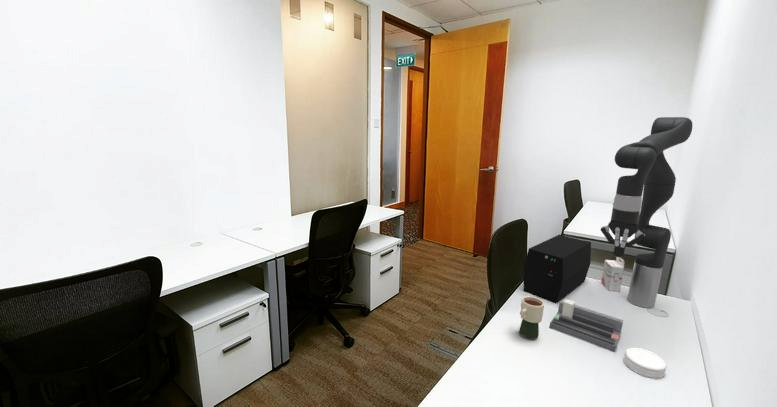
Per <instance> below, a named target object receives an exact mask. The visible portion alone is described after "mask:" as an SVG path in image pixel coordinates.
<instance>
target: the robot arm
mask: <svg viewBox="0 0 777 407" xmlns="http://www.w3.org/2000/svg"><path fill="white" fill-rule="evenodd" d="M692 130H693V121H692V119H691V118H689V117H684V116H683V117H682V116H675V117H674V116H672V117H671V116H666V117H665V116H663V117H662V116H661V117H660V116H659V117H657V118H655V119H654V120H653V122H652V125H651V130H650V134H649V135H647V136H645V137H643V138H642V139H640V140H639V141H637V142H632V143H629V144H625V145H624V146H621V147H620V148H619V149H618V150H617V151H616V153H615V155H614V162H615V164H616V165H617V166H618V167H619V168H622V169H630V170H631V169H632V170H637V171H636V172H635V173H634V174H632V175H622V176H619V178H618V180H617V186H616V192H615V195H614V198H613V203H612V211H611V217H610V221H609V222H608V224H607V225H604V226H601V227H600V231H601V233H602V234H603V236H604V237H605V239H606V240H607V242H608V243H609V244H612V245H613V246H614V249H613V255H615V258H616V257H620V258H622V257H623V256H624V255H625V252H626V251H625V250H626V248H632V247H633V246H635V245H638V246H640V247H642V248H643V247H644V248H647V249H651V250H654V252H650V253H638V254H636V255H635V258H634V263H633V268H632V273H631V279H630V283H629V289H628V294H627V298H626V299H627V300H626V301H628V302H630V303H631V304H632V305H635V306H637V307H640V308H644V309H645V308H646V309H652V308H654V307H655V305H656V301H657V296H658V291H659V288H660V282H661V278H662V273H663V269H664V264H665V260H666V256H667V252H668V248H669V245H670V241H671V237H672V232H671V230H670V229H669V228H667V227H663V226H658V225H652V224H650V221H651V218H652V217H653V216H654V215H655V213H656V212H657V211H659V210H660V208H662V207H663V206H664V205H665V204H666V203H667V202H669V201H670V199H672V197H673V195H674V192H675V187H676V186H675V185H676V182H677V181H676V180H677V177H676V175H675V172H674V170H673V169H672V167H671V166H670V164H669V162H668V161H667V159H666V157H665V153H664V151H666V150H668V149H670V148H672V147H675V146H677V145H680V144H683V143H685V142H686V141H688V140H689V139H690V137H691V134H692ZM610 231H611V233H612V234H613V235H614V237H613V236H612V234H611V233H610ZM633 235H634V238H632V239H631V240H629V241H628V239H629V238H631V237H632V236H633Z"/></svg>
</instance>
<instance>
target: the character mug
mask: <svg viewBox="0 0 777 407" xmlns="http://www.w3.org/2000/svg"><path fill="white" fill-rule="evenodd" d="M544 309H545V302H544V301H543V300H542V299H541V298H540V297H537V296H531V295H530V296H528V295H526V296H522V298H521V303H520V311H519V315H520V318H521V322H520V326H519V329H518V333H519V334H520V335H521V336H522V337H524V338H527V339H531V340H536V339H538V338H539V334H540V333H539V332H540V328H539V324H540V323H541V322H543V316H544Z"/></svg>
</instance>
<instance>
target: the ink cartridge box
mask: <svg viewBox="0 0 777 407" xmlns="http://www.w3.org/2000/svg"><path fill="white" fill-rule="evenodd" d="M615 258H616V259H615V260H614V259H613V260H611V259H604V263H603V269H602V270H603V271H602V275H601V281H600V282H601V284H602V285H603V286H604V287H605V289H607V291H610V292H618V293H619V292H621V286H622V282H623V281H622V280H623V276H624V271H625V260H624V259H623V258H622V257H616V256H615Z"/></svg>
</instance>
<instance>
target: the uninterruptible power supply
mask: <svg viewBox="0 0 777 407" xmlns="http://www.w3.org/2000/svg"><path fill="white" fill-rule="evenodd" d="M591 253H592V242H591V241H587V240H583V239H578V238H574V237H570V236H565V235H564V234H557V235H555V236H553V237H551V238H549V239H546V240H545V241H542V242H540V243H538V244H535V245H533V246H531V247H529V248H528V252H527V254H526V258H525V262H524V265H523V266H524V267H523V277H522V278H523V292H524V293H527V294H528V295H529V294H530V295H532V296H533V297H536V298H539V299H541V300H542V299H543V300H546V301H548V302H551V303H553V304H555V305H557V304H559V302H560V301H563V299H564V298H565V299H566V297H567V296H569V295H570V294H571V293H572V292H573V291H575V290H576V289H577V288H579V287H580V286H581V285H583V283H585V281H586V279H587V275H588V272H589V270H590V269H589V268H590V266H591V260H592V258H591V256H592V254H591Z"/></svg>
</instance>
